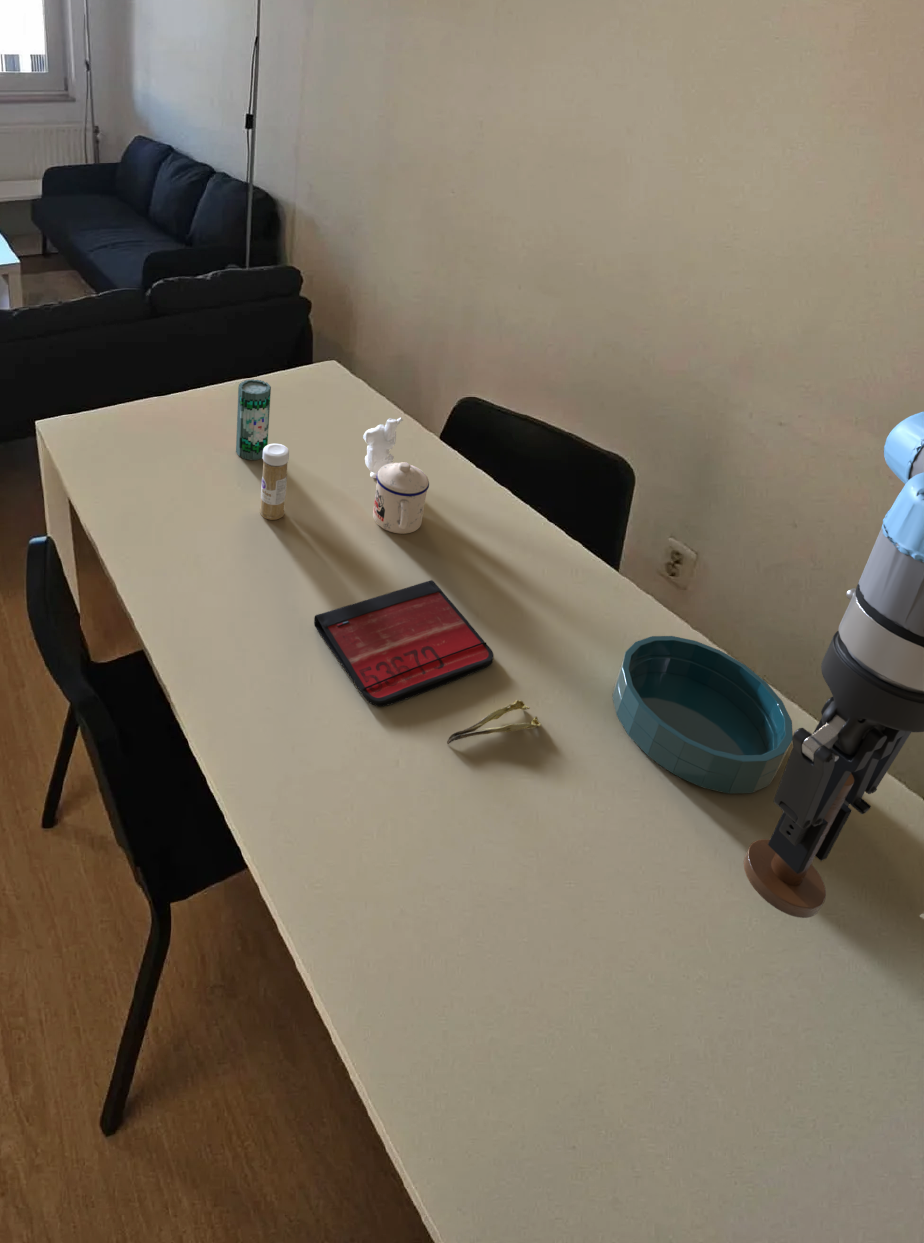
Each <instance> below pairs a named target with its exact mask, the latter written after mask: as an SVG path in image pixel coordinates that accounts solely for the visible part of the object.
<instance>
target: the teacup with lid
mask: <svg viewBox="0 0 924 1243" xmlns="http://www.w3.org/2000/svg"><path fill="white" fill-rule="evenodd" d="M375 479H376V487H375V495H374V503H373V509H372V510H373V511H372V517H373V520H374V522H375V523H376V524H377V525H378V526H379V527H380V528H382V529H383V530H385V531H387V532H390V533H394V534H401V535H403V534H404V535H405V534H410V533H413V532H415V531H417V530H418V529H419V528H421V526H422V522H423V516H424V511H425V504H426V498H427V491H428V489H429V488H430V480H429V477H428V476H427V474H426V473H425V472H424V471H423V470H422V469H420V468H419V467H417V466H415V465H412V464H410V463H408V462H407V461H400V462H392V463H390V464H387V465H384V466H383V467H381V468H380V469H379V471H378V473H377V476H376V478H375Z"/></svg>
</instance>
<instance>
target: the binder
mask: <svg viewBox="0 0 924 1243" xmlns="http://www.w3.org/2000/svg"><path fill="white" fill-rule="evenodd" d="M313 624H314V626H313V627H315V629H316V630H317V632H318V633H319V635H320V636H321V637H322V639H323V640H324V642H325V644H327V645H328V647H329V649H330V650H331V651H332V653H333V655H334V656H335V657H336V659H337V660H338V661H339V663H340V664H341V666H342V667H343V669H344V670H345V672H346V673H347V674H348V676H349V677H350V678H351V680H352V681H353V683H354V684H355V685H356V687H357V688H358V690H359V691H360V693H361V694H362V695H363V696H364V698H365V699H366V701H367V702H369V703H370V704H372V705H374V706H377V707H386V706H390V705H393V704H396V703H398V702H401V701H404V700H408V699H410V698H413V697H415V696H418V695H421V694H423V693H427V692H429V691H431V690H435V689H438V688H440V687H442V686H445V685H448V684H451V683H452V682H455V681H458V680H461V679H462V678H464V677H467V676H470V675H472V674H474V673H477V672H479V671H482V670H484V669H485V668H488V667H490V666H491V665H492V663H493V662H494V652H493V650H492V649H491V647H490V646H489V645H488V644H487V641H485V640H484V639H483V637H481V634H479V633H478V632H477V630H476V629H475V628H474V627H473V626H472V625H471V623H470V622H469V620H467V619H466V617H465V616H464V615H463V614H462V613H461V612H460V610H459V609H458V608H457V606H455V604H454V603H453V602H452V601H451V600H450V599H449V597H448V596H447V595H446V594H445V593H444V592H443V590H442V589H441V588H440V587H439V586H438V585H437V583H436V582H435V581H434V580H433V579H431V580H430V579H429V580H427V581H424V582H420V583H417V584H414V585H411V586H408V587H405V588H401V589H397V590H394V591H391V592H388V593H385V594H381V595H378V596H375V597H372V598H368V599H364V600H362V601H358V602H355V603H352V604H348V605H344V606H342V607H338V608H335V609H332V610H329V611H325V612H323V613H318V614H316V615H314V617H313Z"/></svg>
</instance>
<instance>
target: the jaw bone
mask: <svg viewBox="0 0 924 1243" xmlns="http://www.w3.org/2000/svg"><path fill="white" fill-rule="evenodd" d="M530 709H531V707H530V706H527V705H526V704H525V702H524V701H523V700H521V699H516V700H514V701H513V702H512V703H511V704H508V705H506V706H503V707H501V708H498V709H496V710H494V711H492V712H490V713H489V714H487V715H486V716H484V717H482V719H480V720H479V721H478V722H476V723H475V724H473V725H472V726H470V727H467V728H465V729H463V730H459V731H456V732H454V733H452V734H451V735H450V736H449V737H448V739H447V741H446V744H447V745H450V744H451V743H452V742H454V741H458V740H462V739H465V738H469V737H474V736H475V737H476V736H480V735H481V736H482V735H488V734H489V735H490V734H493V733H494V734H495V733H510V732H517V731H521V730H528V729H536V728H539V727H541V726H542V723H541V722H540V721H539V719H538V716H534V718H533V719H532V720H531V723H530V722H522V723H512V724H506V725H504V726H498V727H489V728H487V727H485V728H481V727H483V726H485V725H486V724H487V723H489V722H491V721H493V720H498V719H500V718H501V717H502V716H504V715H505V714H507V713H509V712H512V711H516V710H522V711H526V710H530ZM480 728H481V729H480Z"/></svg>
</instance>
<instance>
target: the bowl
mask: <svg viewBox="0 0 924 1243" xmlns="http://www.w3.org/2000/svg"><path fill="white" fill-rule="evenodd" d="M612 691H613V692H612V701H613V705H614V706H613V707H614V709H615V715H616V717H617V719H618V720H619V722H620V724H621V725H622V728H623V729H624V731H625V733H626V734H627V736H628V737H629V738H630V739H631V740H632V741H633V742H634V743H635V744H636V745H637V746H638V747H639V749H641V751H643V752H644V753H645V754H646V755H647V756H648V757H649V758H650V759H652V760H653V761H654V762H655V763H657V764H658V765H659V766H660V767H662V768H664V770H666V771H668V772H669V773H671V774H673V775H675V776H676V777H679V778H681V779H682V780H684V781H686V782H689V783H691V784H693V785H696V786H698V787H700V788H704V789H708V790H712V791H716V792H721V793H724V794H752V793H755V792H758V791H759V790H762V789H764V788H766V787H768V786H770V785H771V784H772V782H773V780H774V778H775V777H776V775H777V773H778V772H779V770H780V767H781V765H782V763H783V761H784V760H785V758H786V755H787V753H788V751H789V748H790V747H791V745H792V744H793V735H794V731H793V720H792V718H791V716H790V713H789V712H788V711H787V708H786V705H785V704H784V702H783V700H782V698H780V696H778V694H777V693H776V692H775V691H774V690H773V688H772V687H771V686H770V685H769V684H768V682H767V681H766V680H764V678H762V677H760V675H758V674H757V673H756V672H755V671H753V670H752V669H751V668H750V667H748V665H746V664H745V663H742V662H741V661H739V660H737V659H736V658H734V657H733V656H730V655H729V654H727V653H725V652H724V651H723V650H720V649H717V648H715V647H712V646H711V645H707V644H705V643H702V642H700V641H698V640H694V639H688V638H684V637H679V636H674V635H651V636H648V637H646V638H642V639H640V640H636V641H635V642H633V644H631V646H630V647H629V648H628V649H627V650H625V652H624V655H623V658H622V661H621V663H620V667H619V670H618V673H617V675H616V679H615V683H614V688H613V690H612Z"/></svg>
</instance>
